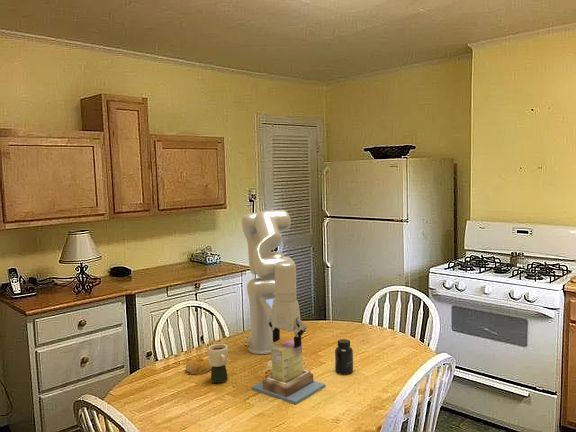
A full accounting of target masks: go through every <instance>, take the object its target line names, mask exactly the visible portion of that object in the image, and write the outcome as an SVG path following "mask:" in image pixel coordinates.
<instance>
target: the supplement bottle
mask: <svg viewBox="0 0 576 432" xmlns="http://www.w3.org/2000/svg"><path fill="white" fill-rule="evenodd" d="M336 345H337V347H336V348H335V349H334V367H335V369H334V371H335V373H337V374H339V375H350V374H352V373H353V372H354V348H352V347H351V340H349V339H345V338H341V339H338V340H337V344H336Z"/></svg>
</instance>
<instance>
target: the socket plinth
mask: <svg viewBox="0 0 576 432" xmlns="http://www.w3.org/2000/svg"><path fill="white" fill-rule="evenodd" d="M262 381H263V389H264V390H267V391H270V392H273V393H276V394H279V395H282V396H285V397H288V396H290V395H292V394H294V393H295V392H297V391H299V390H301V389H302V388H304V387H306V386H308V385H309V384H311V383H313V382H314V381H315V380H314V373H312V372H311V371H310V370H307V369H303V374H302V375H300V376H298V377H295V378H293V379H291V380H289V381H287V382H285V383H284V382H281V381H278V380H275V379H272V374H270V375H268V376H265V379H264V380H262Z"/></svg>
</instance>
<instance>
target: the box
mask: <svg viewBox="0 0 576 432" xmlns="http://www.w3.org/2000/svg"><path fill="white" fill-rule="evenodd" d="M275 345H276V346H273V347H271V353H270V355H271V356H270V357H271V375H272V379H275V380H278V381H281V382H284V383H285V382H287V381H289V380H291V379H293V378H295V377H298V376H300V375H302V374H303V370H304V369H303V344H302V342H301V346H300V347H297V348H294V339H289V340H286V341H284V342H282V343H279V344H275Z"/></svg>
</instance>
